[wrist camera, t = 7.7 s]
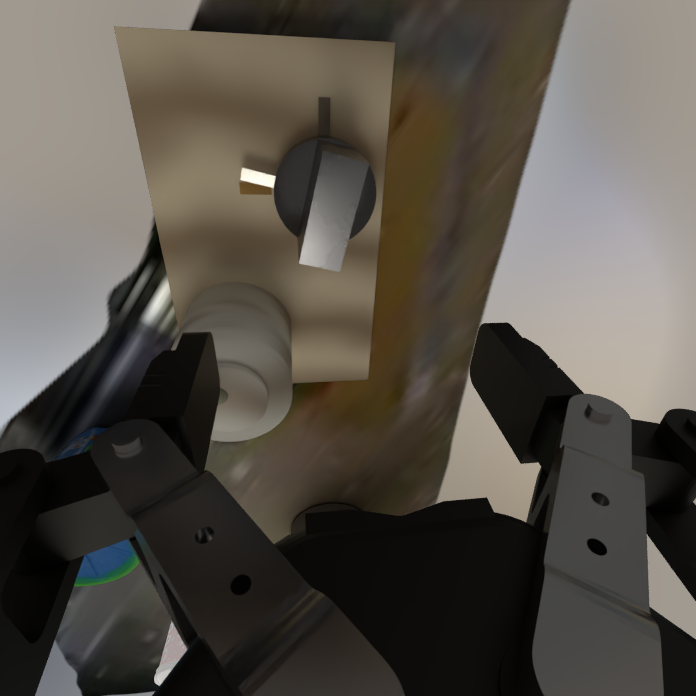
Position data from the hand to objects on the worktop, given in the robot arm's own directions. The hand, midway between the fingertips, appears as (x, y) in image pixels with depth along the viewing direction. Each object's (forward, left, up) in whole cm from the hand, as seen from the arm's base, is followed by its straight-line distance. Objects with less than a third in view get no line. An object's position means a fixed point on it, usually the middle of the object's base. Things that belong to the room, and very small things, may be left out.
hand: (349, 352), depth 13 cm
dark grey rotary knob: (+1, 0, -18) cm, 18 cm away
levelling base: (-3, +3, -20) cm, 21 cm away
